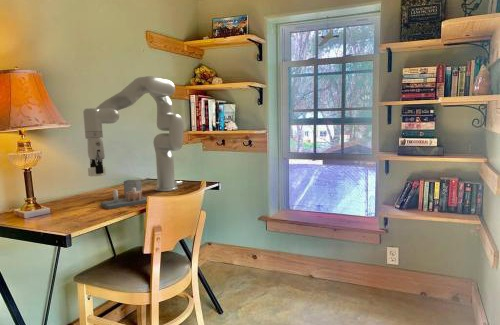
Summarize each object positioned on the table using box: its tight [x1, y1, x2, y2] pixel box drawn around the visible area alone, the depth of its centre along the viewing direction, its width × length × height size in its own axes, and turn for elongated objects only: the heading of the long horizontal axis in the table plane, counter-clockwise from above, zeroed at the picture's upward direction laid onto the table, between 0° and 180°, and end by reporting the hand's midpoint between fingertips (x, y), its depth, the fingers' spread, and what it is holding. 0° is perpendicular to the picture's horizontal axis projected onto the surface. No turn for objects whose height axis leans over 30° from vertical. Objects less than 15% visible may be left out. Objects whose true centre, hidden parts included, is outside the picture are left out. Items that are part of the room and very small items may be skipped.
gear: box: [87, 166, 107, 177], centre depth 178 cm, size 7×7×4 cm
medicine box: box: [123, 179, 143, 198], centre depth 195 cm, size 8×4×9 cm, turn 71°
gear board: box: [99, 188, 148, 210], centre depth 180 cm, size 20×11×7 cm, turn 130°
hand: (97, 172), depth 178 cm, fingers closed on gear, 7 cm apart
